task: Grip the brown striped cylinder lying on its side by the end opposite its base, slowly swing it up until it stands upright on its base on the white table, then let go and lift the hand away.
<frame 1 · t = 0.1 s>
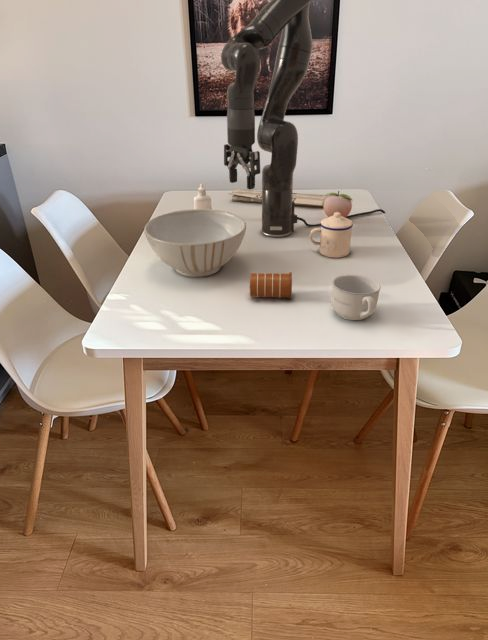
hand: (241, 185, 160), 17 cm above the table, tool pointing down, fingers open, 8 cm apart
teacup: (354, 318, 129), on the table
eye dropper bottle: (203, 220, 187), on the table
teacup with lid: (329, 253, 162), on the table
newspaper: (278, 202, 202), on the table
decorative bowl: (198, 268, 154), on the table
decorative fruit: (336, 222, 184), on the table
brown striped cylinder: (271, 285, 136), point 3 cm above the table, hinge at 0.0°
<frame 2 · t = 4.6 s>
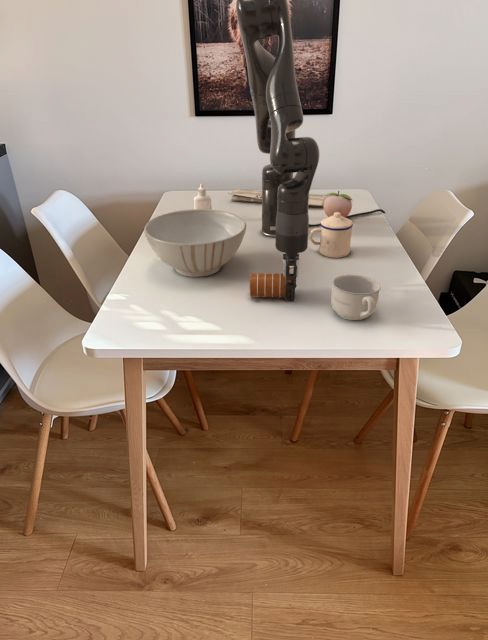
hand: (289, 293, 137), 1 cm above the table, tool pointing down, fingers closed on brown striped cylinder, 6 cm apart
brown striped cylinder: (271, 285, 136), point 3 cm above the table, hinge at 0.0°, touching gripper
everything else where it was.
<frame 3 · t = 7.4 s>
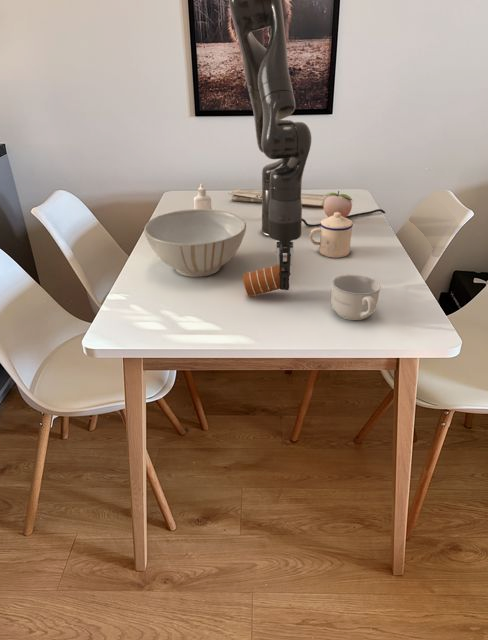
hand: (284, 282, 136), 4 cm above the table, tool pointing down, fingers closed on brown striped cylinder, 6 cm apart
brown striped cylinder: (266, 280, 136), point 5 cm above the table, hinge at 17.5°, touching gripper
everything else where it was.
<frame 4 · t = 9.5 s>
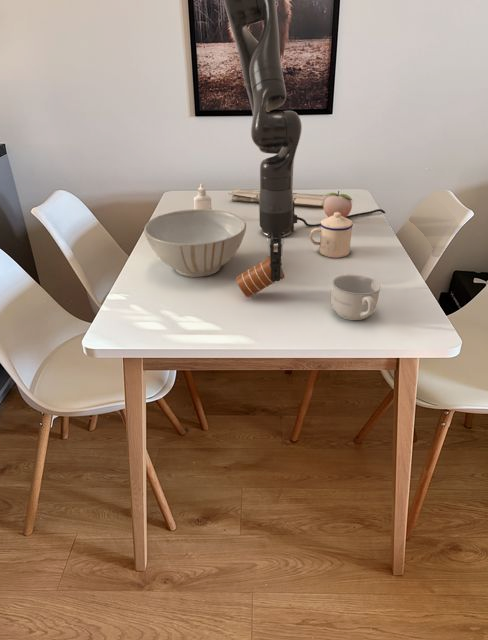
hand: (275, 274, 135), 6 cm above the table, tool pointing down, fingers closed on brown striped cylinder, 6 cm apart
brown striped cylinder: (260, 276, 135), point 5 cm above the table, hinge at 33.9°, touching gripper
everything else where it was.
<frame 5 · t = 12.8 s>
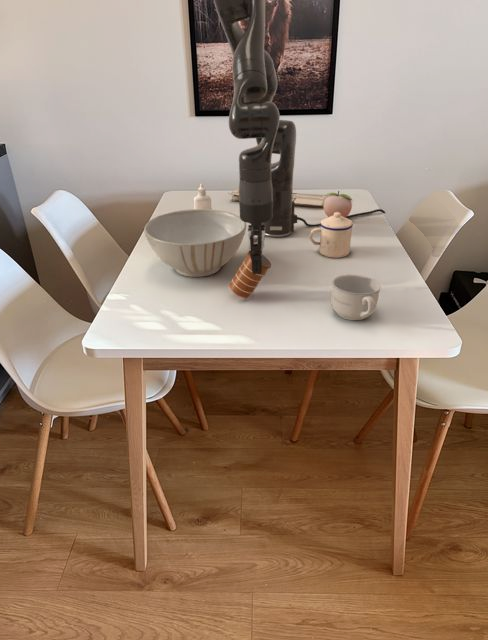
hand: (257, 266, 134), 8 cm above the table, tool pointing down, fingers closed on brown striped cylinder, 6 cm apart
brown striped cylinder: (249, 274, 135), point 6 cm above the table, hinge at 59.1°, touching gripper
everything else where it was.
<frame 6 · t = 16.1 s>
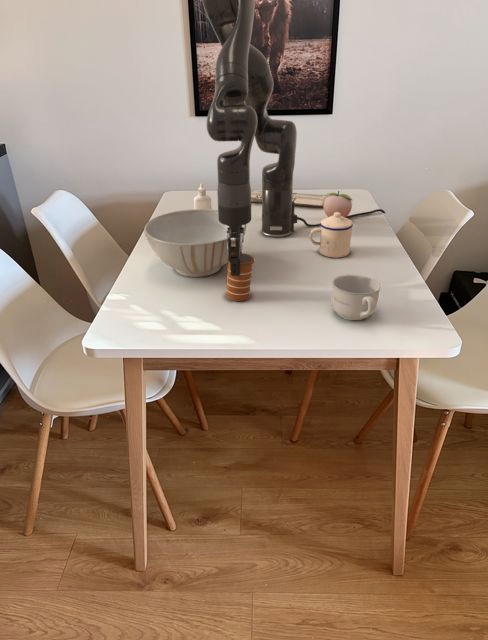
hand: (236, 269, 135), 7 cm above the table, tool pointing down, fingers closed on brown striped cylinder, 6 cm apart
brown striped cylinder: (239, 277, 136), point 5 cm above the table, hinge at 84.5°, touching gripper
everything else where it was.
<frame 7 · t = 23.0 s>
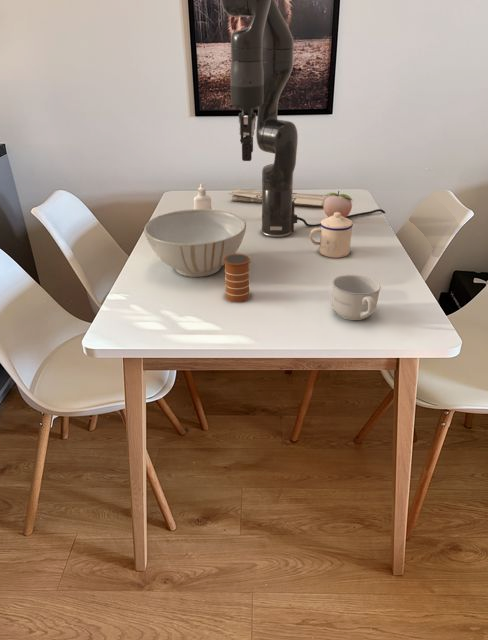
hand: (247, 156, 136), 30 cm above the table, tool pointing down, fingers open, 8 cm apart
brown striped cylinder: (237, 278, 136), point 5 cm above the table, hinge at 90.0°
everything else where it was.
at the end: brown striped cylinder at +90° (first picture: +0°); the gripper is holding nothing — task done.
